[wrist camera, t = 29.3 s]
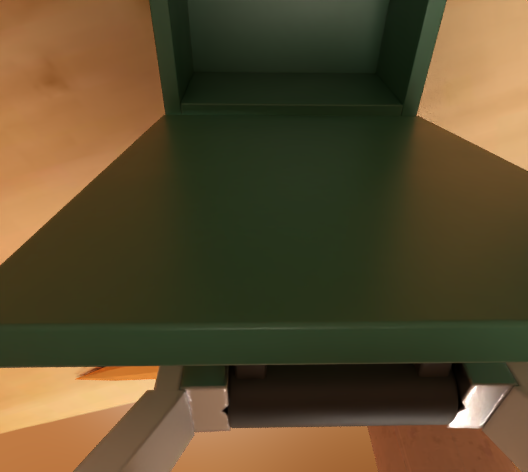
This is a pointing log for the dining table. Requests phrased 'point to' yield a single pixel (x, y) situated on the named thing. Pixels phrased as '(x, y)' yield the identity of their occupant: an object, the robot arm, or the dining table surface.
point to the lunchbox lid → (285, 266)
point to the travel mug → (436, 449)
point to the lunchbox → (294, 56)
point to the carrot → (123, 373)
